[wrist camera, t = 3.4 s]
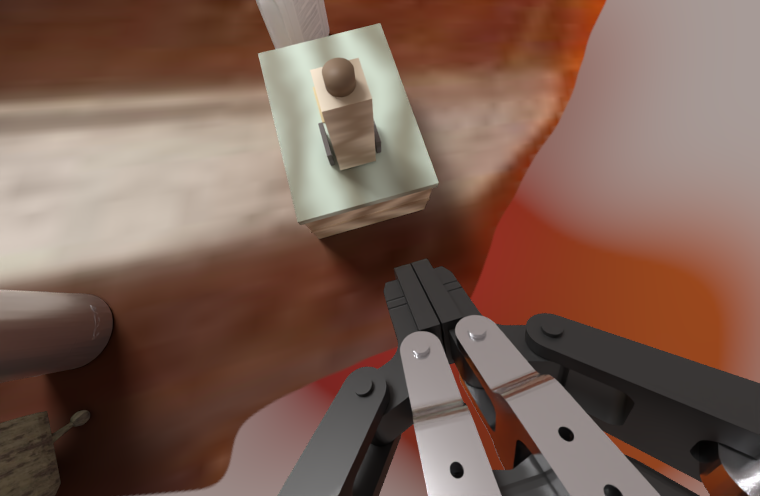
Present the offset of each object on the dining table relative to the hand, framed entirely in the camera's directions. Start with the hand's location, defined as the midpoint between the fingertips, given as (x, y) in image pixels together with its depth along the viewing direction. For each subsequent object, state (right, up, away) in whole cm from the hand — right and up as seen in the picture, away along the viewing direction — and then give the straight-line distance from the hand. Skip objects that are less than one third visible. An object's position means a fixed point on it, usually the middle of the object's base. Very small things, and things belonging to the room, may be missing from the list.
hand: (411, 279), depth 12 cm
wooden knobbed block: (-4, +12, +18) cm, 22 cm away
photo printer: (-13, +33, +32) cm, 48 cm away
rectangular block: (-6, +15, +28) cm, 32 cm away
